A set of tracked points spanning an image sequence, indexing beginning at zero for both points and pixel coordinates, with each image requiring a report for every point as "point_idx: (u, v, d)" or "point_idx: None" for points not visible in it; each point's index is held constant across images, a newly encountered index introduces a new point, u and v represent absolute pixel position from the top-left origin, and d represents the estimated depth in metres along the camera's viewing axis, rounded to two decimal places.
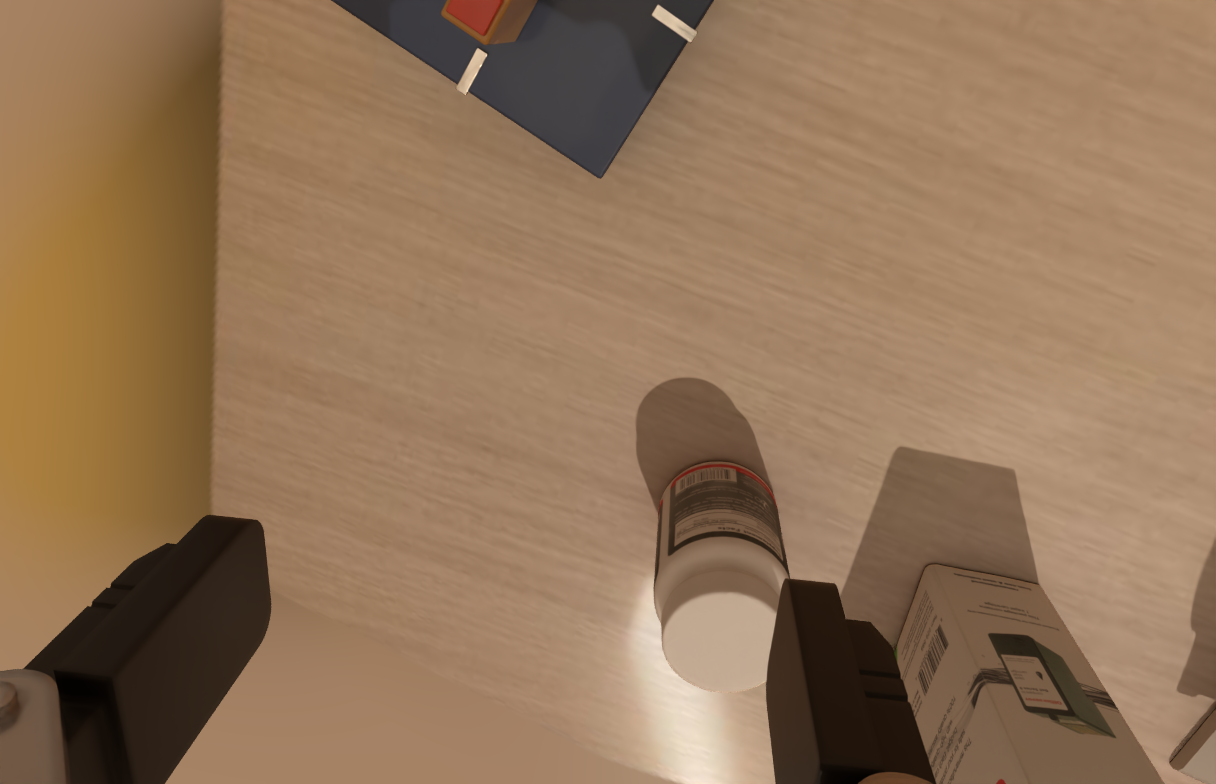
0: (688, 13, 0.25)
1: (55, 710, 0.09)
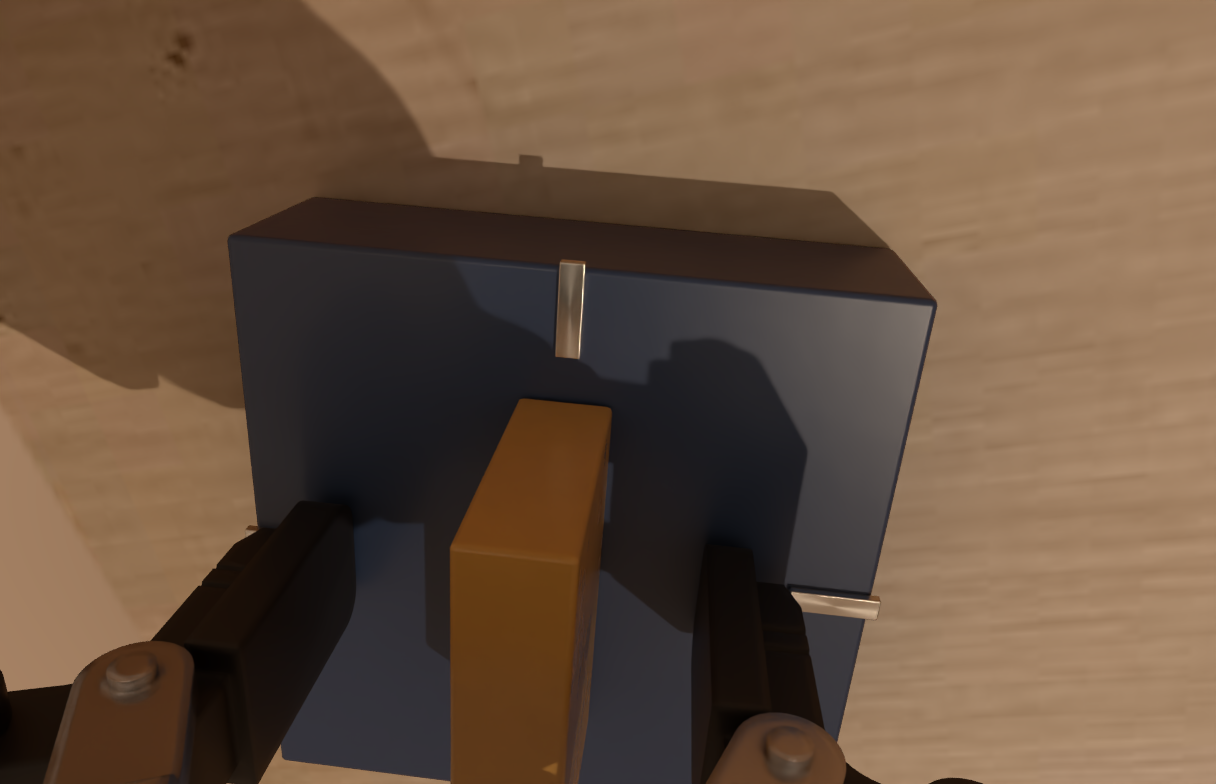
0: (849, 578, 0.14)
1: (187, 687, 0.10)
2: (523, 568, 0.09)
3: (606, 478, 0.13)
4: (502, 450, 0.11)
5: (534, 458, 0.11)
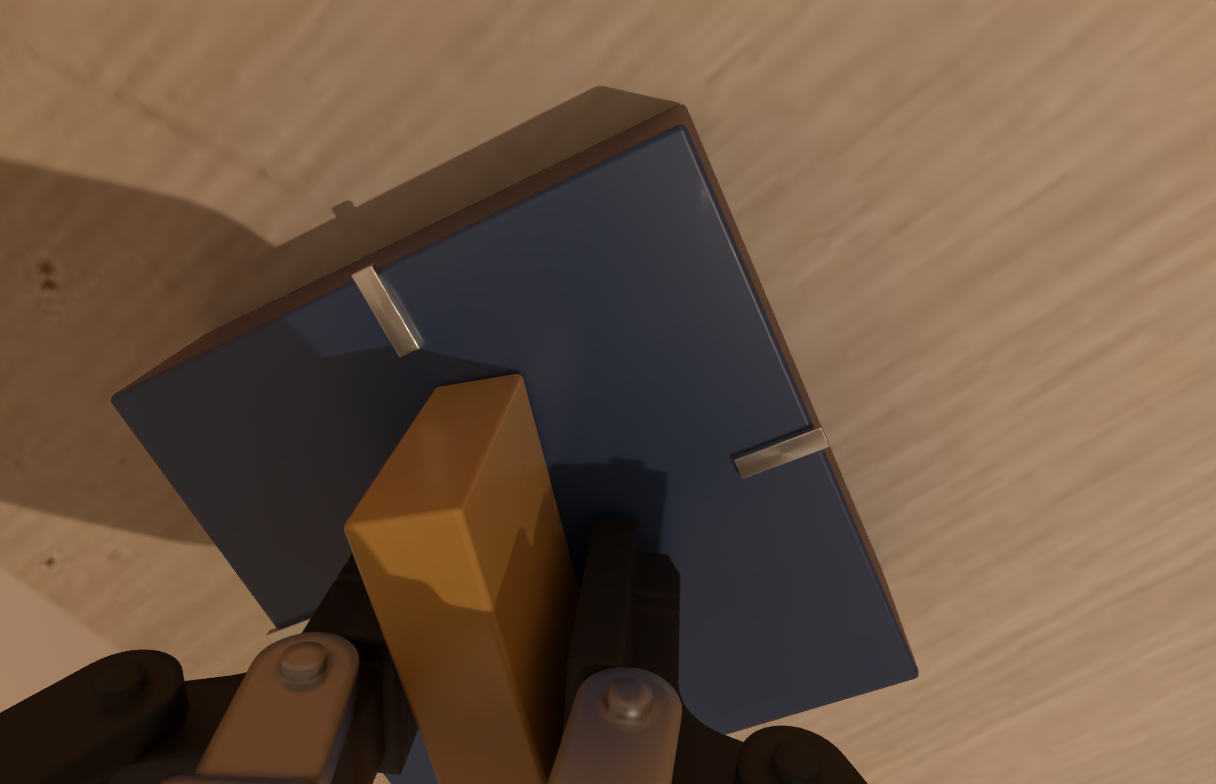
0: (780, 421, 0.13)
1: (347, 688, 0.10)
2: (413, 530, 0.10)
3: (537, 442, 0.13)
4: (408, 435, 0.12)
5: (436, 434, 0.11)
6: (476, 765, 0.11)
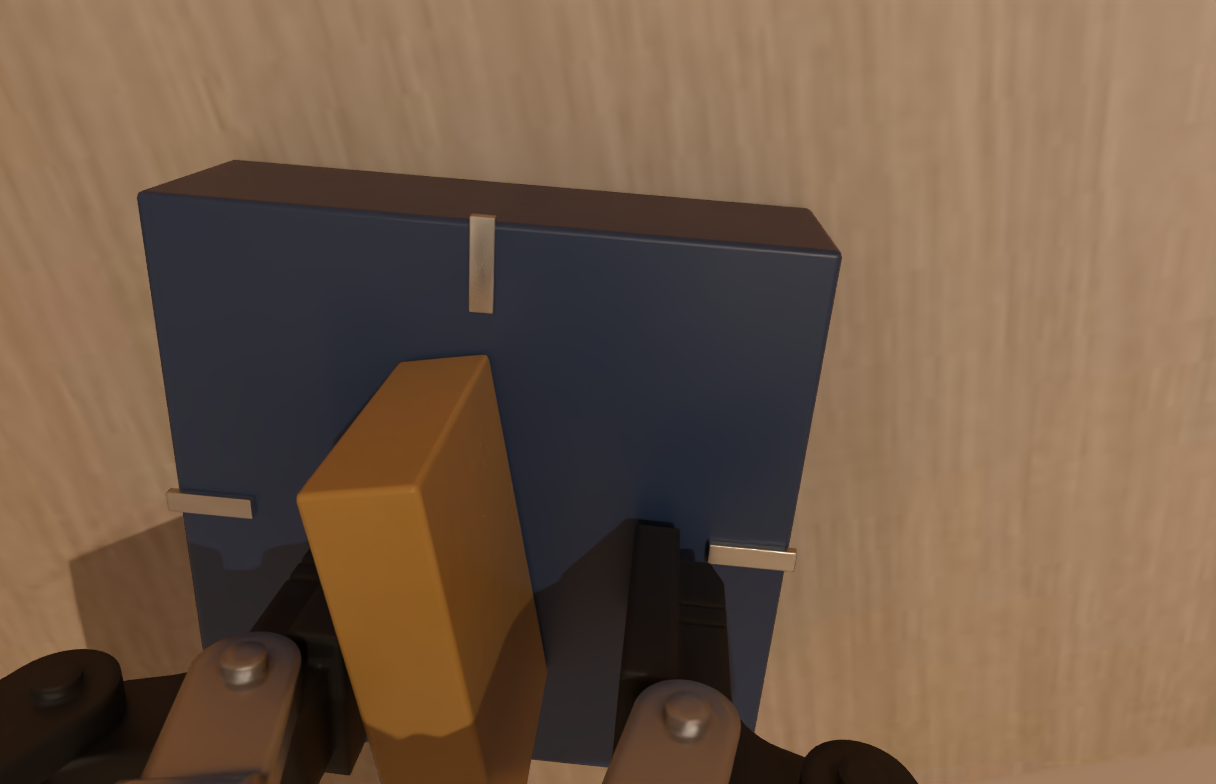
0: (453, 248, 0.12)
1: (291, 683, 0.10)
2: (368, 504, 0.09)
3: (499, 425, 0.13)
4: (368, 408, 0.11)
5: (397, 410, 0.11)
6: (414, 746, 0.11)
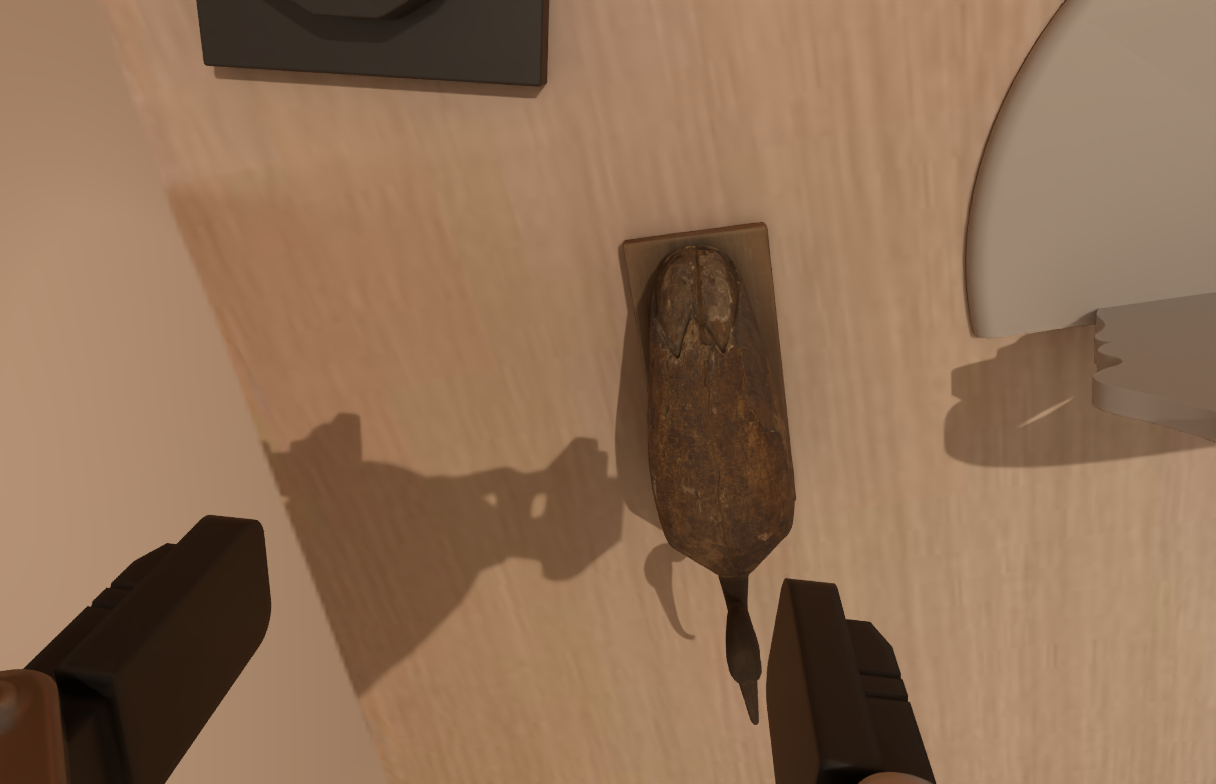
0: None
1: (55, 710, 0.09)
2: None
3: None
4: None
5: None
6: None
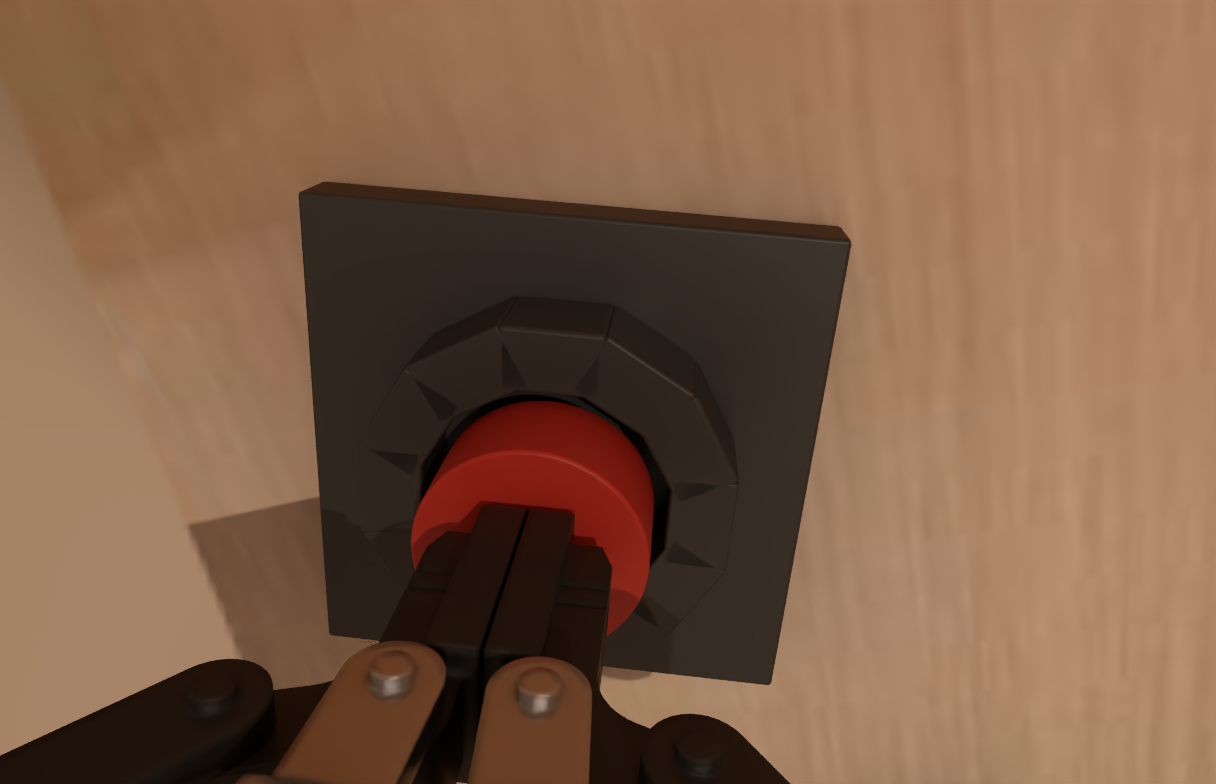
0: None
1: (430, 703, 0.10)
2: None
3: None
4: None
5: None
6: None
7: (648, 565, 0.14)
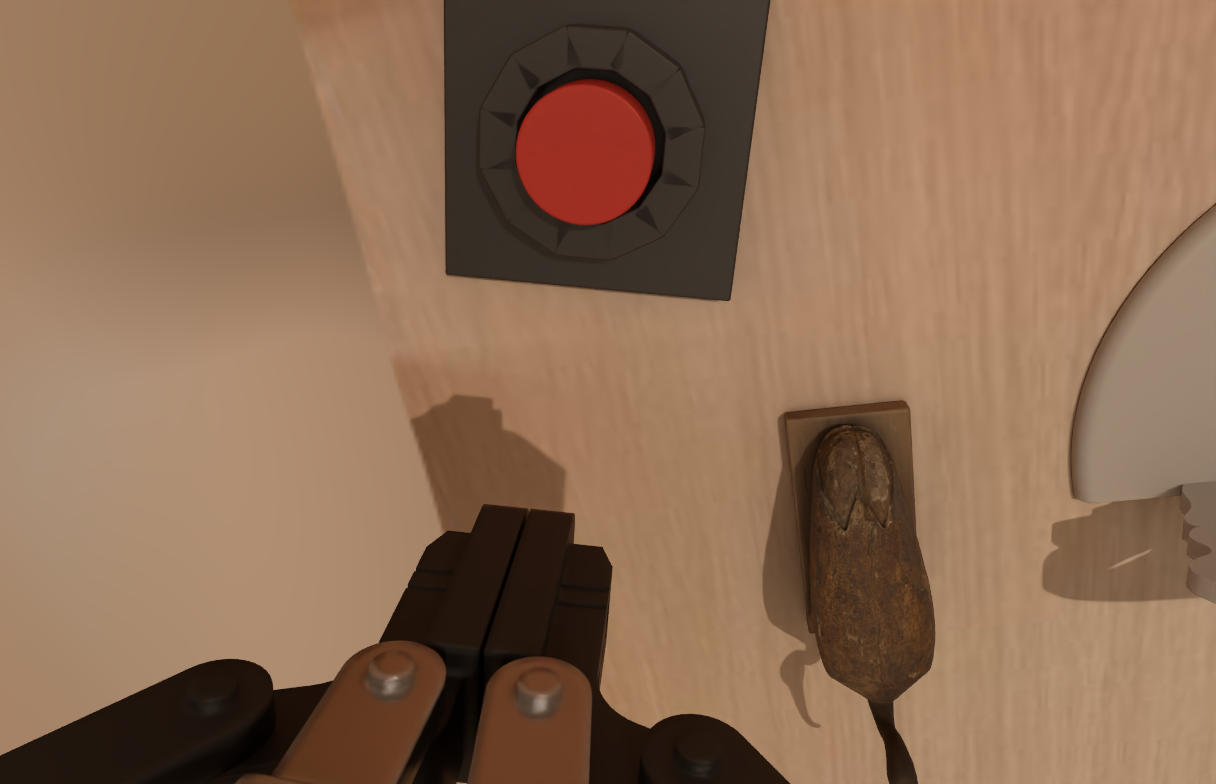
0: None
1: (430, 703, 0.10)
2: None
3: None
4: None
5: None
6: None
7: (652, 158, 0.25)
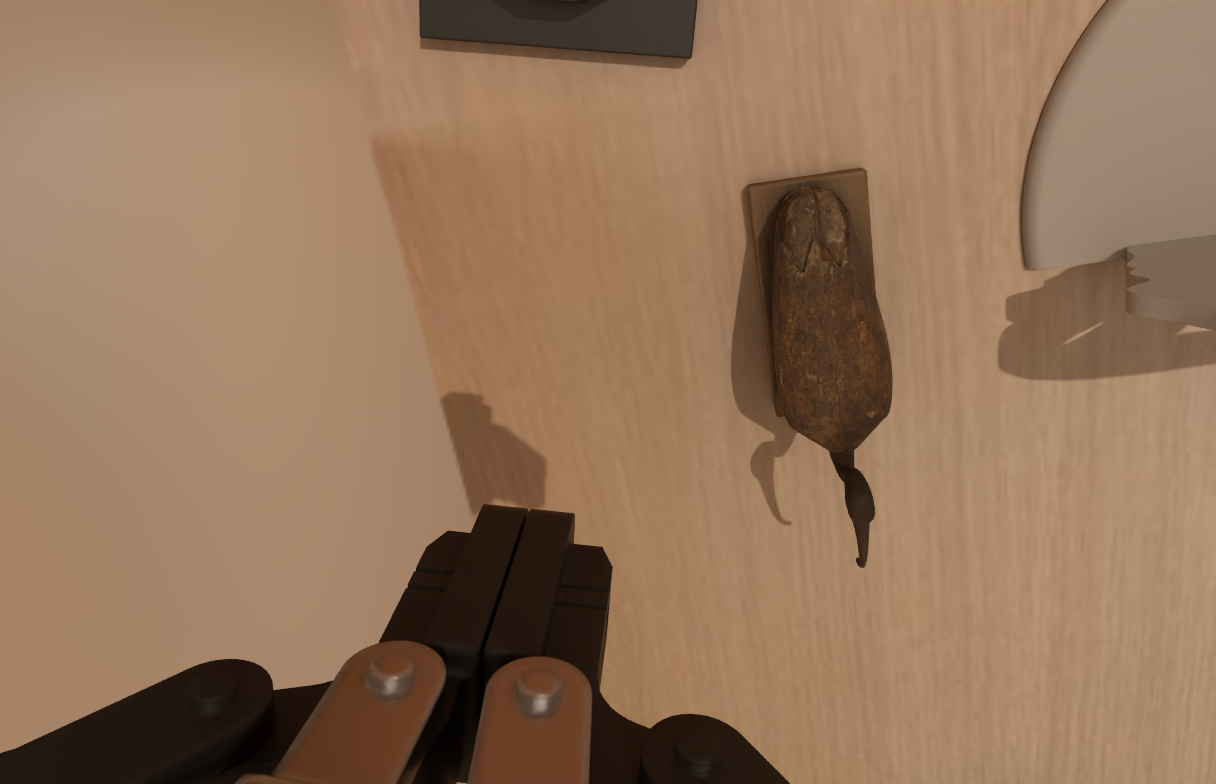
0: None
1: (430, 703, 0.10)
2: None
3: None
4: None
5: None
6: None
7: None
